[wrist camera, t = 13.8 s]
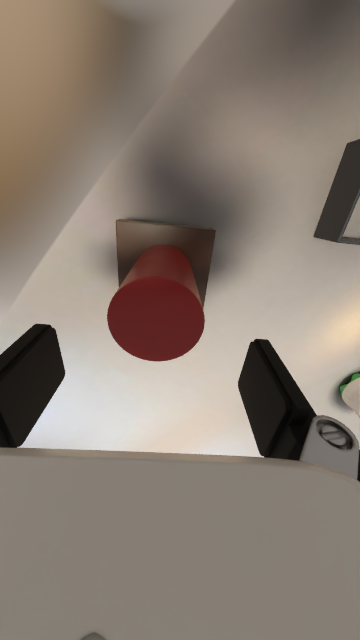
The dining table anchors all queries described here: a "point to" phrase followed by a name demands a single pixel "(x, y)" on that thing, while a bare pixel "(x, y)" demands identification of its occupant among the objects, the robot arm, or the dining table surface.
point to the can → (157, 306)
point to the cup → (352, 393)
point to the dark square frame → (342, 198)
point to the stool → (147, 234)
